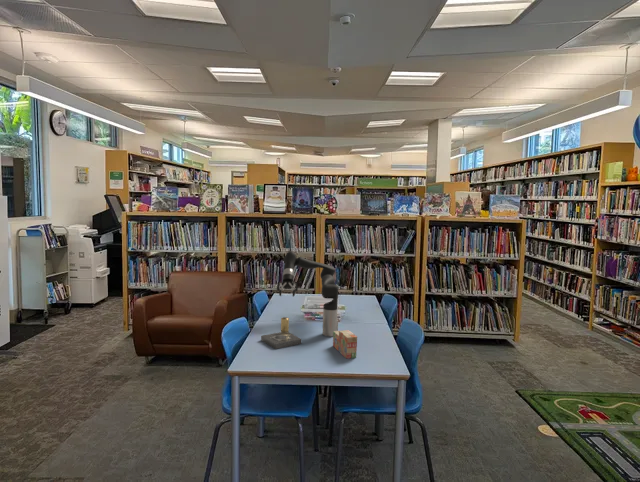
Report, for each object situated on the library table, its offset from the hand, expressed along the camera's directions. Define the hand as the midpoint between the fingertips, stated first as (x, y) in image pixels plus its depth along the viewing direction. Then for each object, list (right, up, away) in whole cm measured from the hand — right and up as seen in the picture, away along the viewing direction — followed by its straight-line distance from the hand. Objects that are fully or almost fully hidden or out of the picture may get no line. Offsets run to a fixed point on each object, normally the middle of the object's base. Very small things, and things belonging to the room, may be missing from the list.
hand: (286, 295), depth 278 cm
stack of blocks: (+37, -27, -40) cm, 61 cm away
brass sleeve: (-1, -23, -10) cm, 25 cm away
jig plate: (-1, -25, -28) cm, 37 cm away
